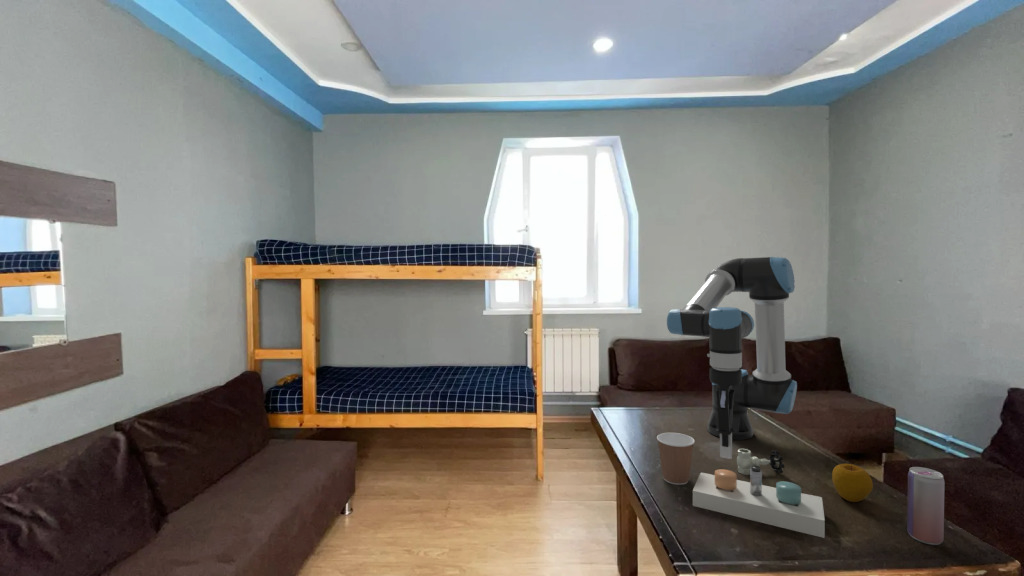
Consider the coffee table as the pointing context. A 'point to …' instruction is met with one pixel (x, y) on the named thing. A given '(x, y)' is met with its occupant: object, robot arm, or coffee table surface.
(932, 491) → the beverage can
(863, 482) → the apple
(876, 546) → the coffee table surface
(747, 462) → the valve
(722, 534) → the coffee table surface
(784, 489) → the knob teal
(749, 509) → the mount board
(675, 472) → the coffee cup
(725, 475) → the knob terracotta
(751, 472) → the pot post
